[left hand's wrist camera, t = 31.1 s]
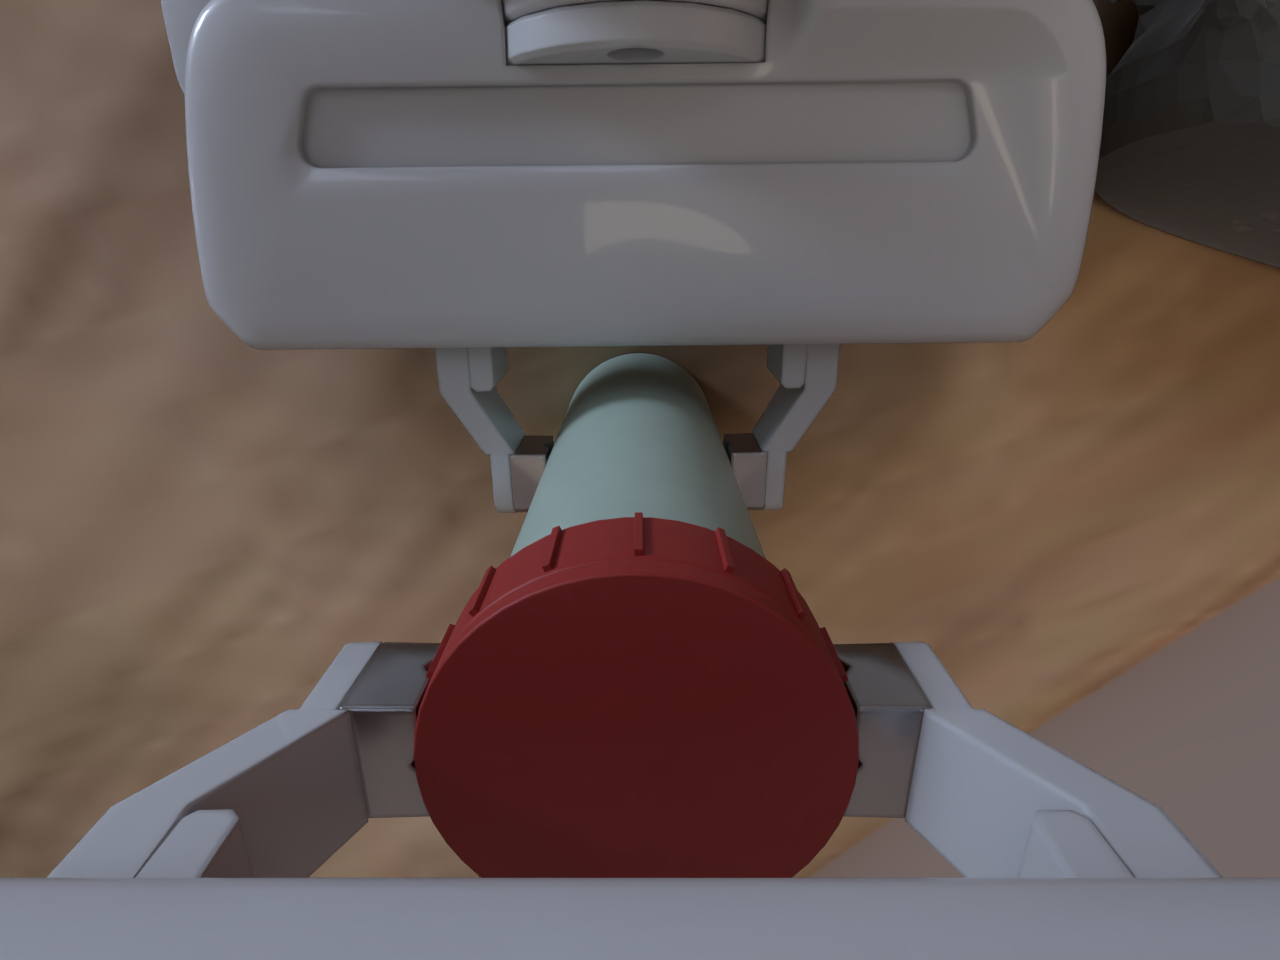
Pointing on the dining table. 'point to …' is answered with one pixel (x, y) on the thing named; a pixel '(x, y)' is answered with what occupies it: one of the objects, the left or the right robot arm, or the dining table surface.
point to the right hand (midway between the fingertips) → (640, 504)
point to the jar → (638, 455)
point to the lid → (636, 712)
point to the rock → (1198, 125)
